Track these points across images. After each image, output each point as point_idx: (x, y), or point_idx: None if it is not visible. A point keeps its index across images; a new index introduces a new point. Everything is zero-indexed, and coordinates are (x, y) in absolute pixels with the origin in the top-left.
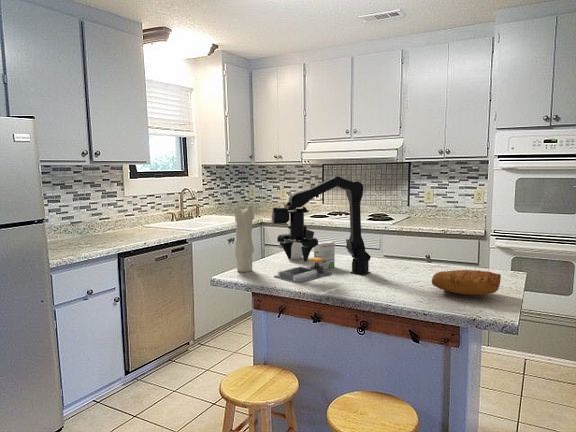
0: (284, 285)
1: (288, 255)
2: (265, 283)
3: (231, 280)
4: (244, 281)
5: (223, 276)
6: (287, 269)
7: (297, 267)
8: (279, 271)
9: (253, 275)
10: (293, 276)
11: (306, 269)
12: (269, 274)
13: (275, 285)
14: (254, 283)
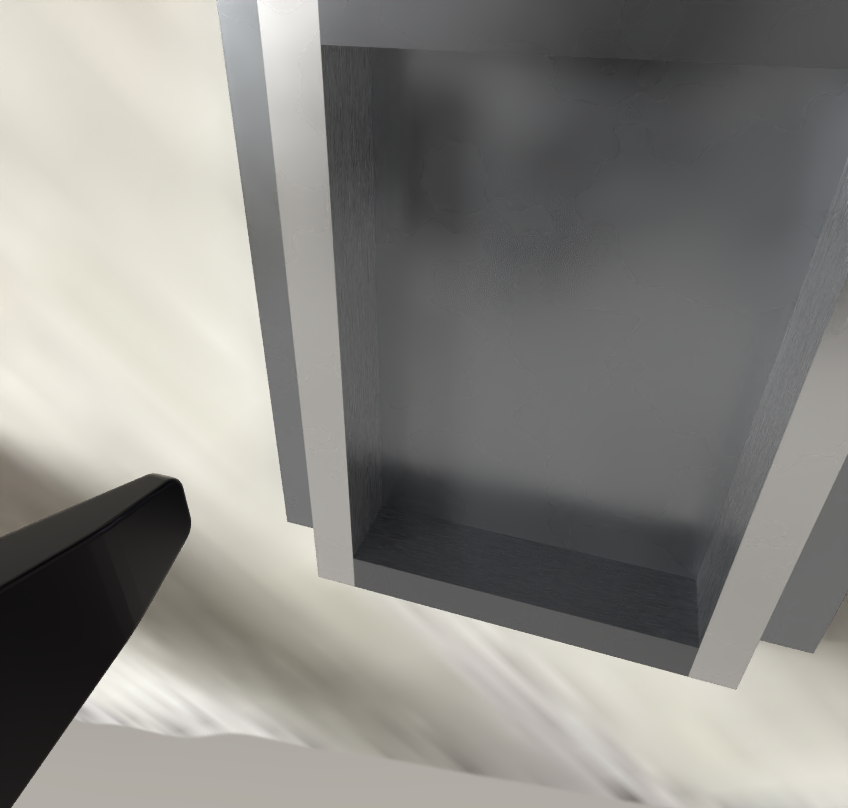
0: (682, 737)
1: (125, 632)
2: (439, 721)
3: (156, 714)
4: (245, 713)
5: None
6: (302, 400)
7: (303, 121)
8: (323, 561)
9: None
10: (693, 663)
11: (587, 55)
12: (145, 426)
13: (585, 753)
14: (360, 740)
